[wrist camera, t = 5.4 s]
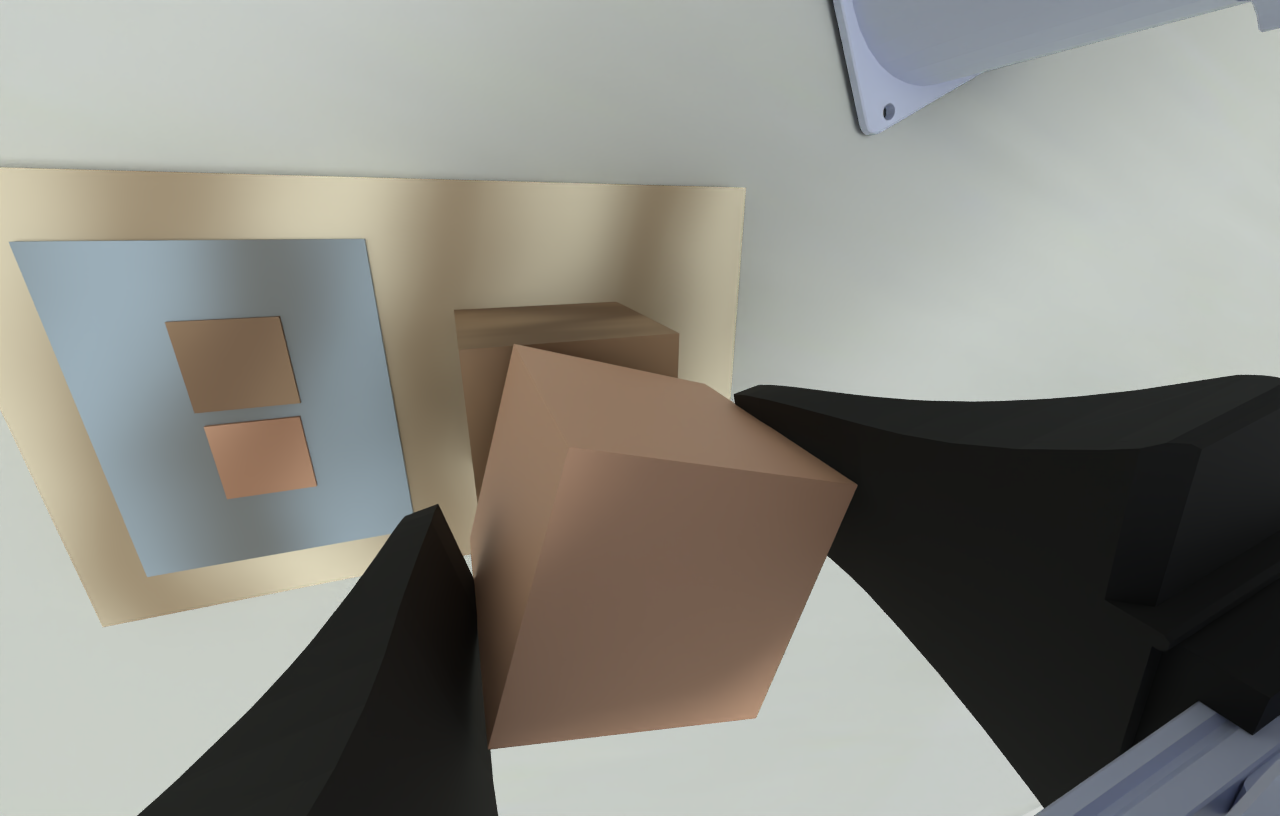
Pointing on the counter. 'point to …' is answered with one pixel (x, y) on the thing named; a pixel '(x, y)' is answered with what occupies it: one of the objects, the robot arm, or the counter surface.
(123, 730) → the counter surface
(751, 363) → the counter surface
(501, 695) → the terracotta block
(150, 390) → the baseplate
